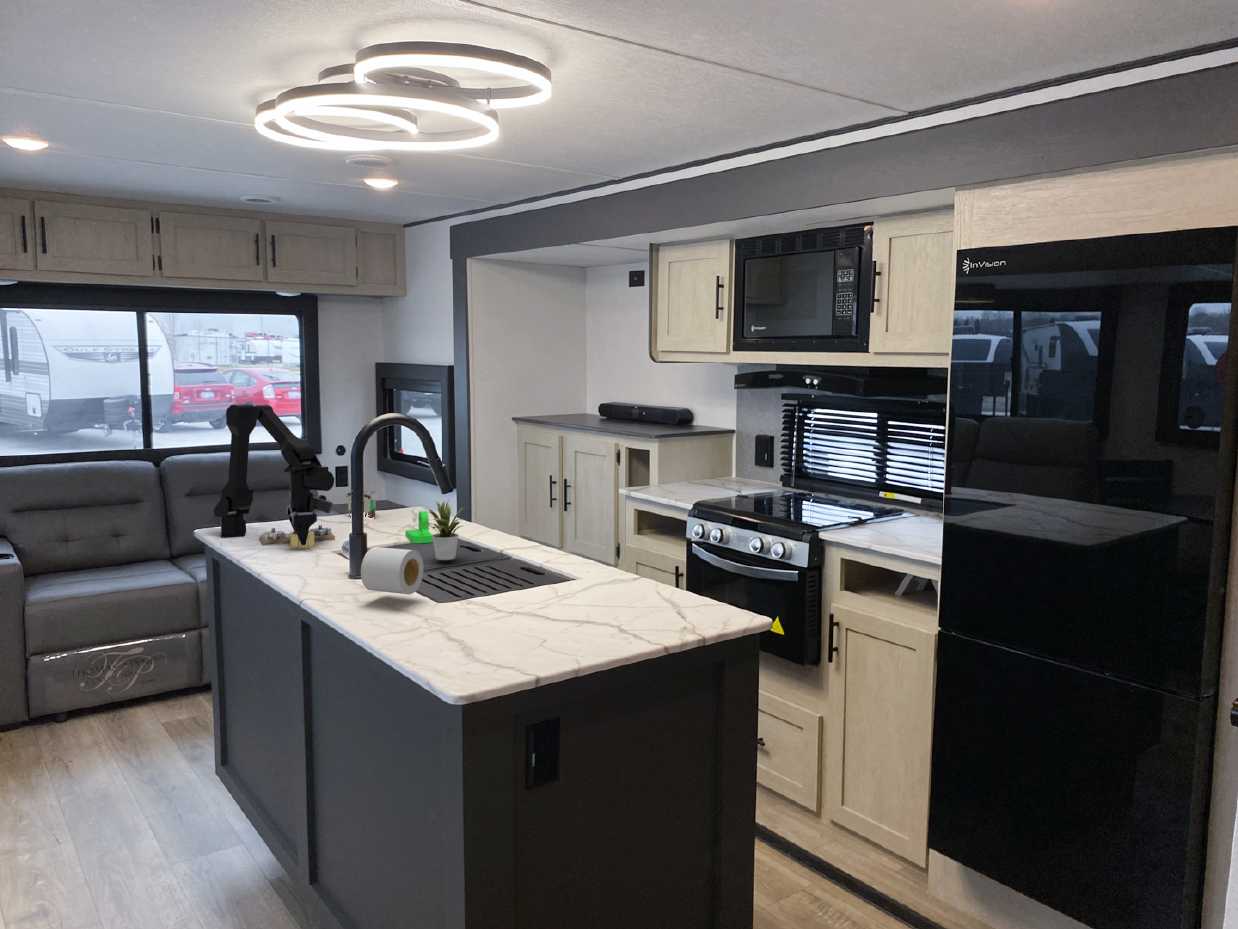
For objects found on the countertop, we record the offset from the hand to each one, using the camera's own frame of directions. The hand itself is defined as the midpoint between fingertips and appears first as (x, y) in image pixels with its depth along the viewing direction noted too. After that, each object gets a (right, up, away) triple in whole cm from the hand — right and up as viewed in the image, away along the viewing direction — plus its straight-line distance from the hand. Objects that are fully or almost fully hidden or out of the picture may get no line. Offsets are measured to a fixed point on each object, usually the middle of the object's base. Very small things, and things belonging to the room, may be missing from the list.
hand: (302, 542), depth 260 cm
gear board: (-5, 0, +10) cm, 11 cm away
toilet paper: (+39, -7, -51) cm, 65 cm away
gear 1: (-11, +1, +7) cm, 13 cm away
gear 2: (+1, +1, +13) cm, 13 cm away
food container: (+6, +3, +44) cm, 45 cm away
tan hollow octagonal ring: (0, -1, 0) cm, 1 cm away
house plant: (+42, -3, -13) cm, 45 cm away
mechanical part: (+31, 0, +14) cm, 33 cm away
